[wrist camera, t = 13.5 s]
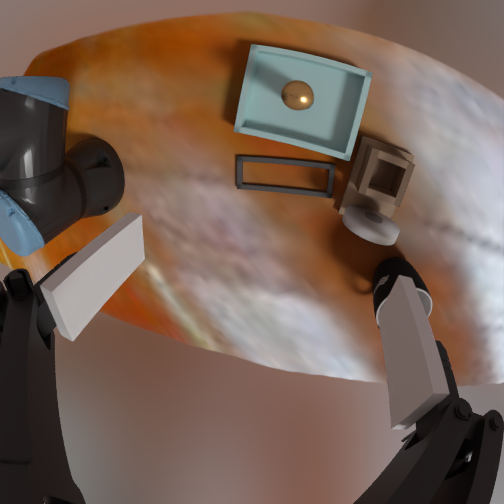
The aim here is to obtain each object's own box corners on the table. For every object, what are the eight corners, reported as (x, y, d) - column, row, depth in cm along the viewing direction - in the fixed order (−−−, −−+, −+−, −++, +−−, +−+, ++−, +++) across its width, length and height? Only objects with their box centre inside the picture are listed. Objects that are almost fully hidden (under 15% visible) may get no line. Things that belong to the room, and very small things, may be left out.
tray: (239, 129, 36) (233, 131, 34) (256, 48, 30) (251, 44, 27) (346, 157, 35) (349, 161, 33) (368, 75, 28) (372, 72, 26)
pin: (289, 106, 33) (278, 106, 23) (294, 86, 31) (284, 77, 21) (311, 112, 33) (309, 114, 22) (316, 92, 31) (316, 84, 21)
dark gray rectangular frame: (237, 187, 41) (237, 188, 41) (238, 155, 38) (237, 156, 38) (331, 197, 39) (331, 198, 38) (334, 164, 36) (335, 165, 36)
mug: (378, 244, 40) (391, 281, 32) (423, 256, 39) (443, 294, 31) (354, 301, 47) (358, 342, 38) (396, 309, 46) (406, 350, 37)
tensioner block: (338, 211, 39) (342, 238, 32) (361, 135, 33) (375, 143, 25) (385, 226, 39) (399, 256, 31) (411, 154, 32) (435, 169, 25)
